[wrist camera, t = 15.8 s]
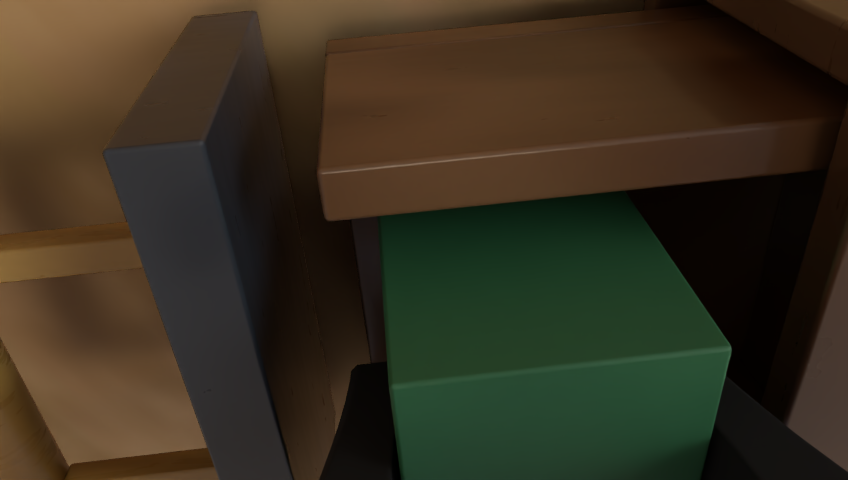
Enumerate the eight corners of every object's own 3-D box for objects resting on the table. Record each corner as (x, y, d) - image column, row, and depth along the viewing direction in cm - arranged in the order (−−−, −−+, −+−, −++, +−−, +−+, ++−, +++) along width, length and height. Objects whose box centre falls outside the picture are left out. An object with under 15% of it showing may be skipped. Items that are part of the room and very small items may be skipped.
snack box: (406, 454, 14) (424, 654, 11) (376, 207, 11) (388, 387, 8) (595, 432, 15) (668, 623, 11) (620, 182, 11) (735, 347, 8)
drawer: (95, 439, 18) (8, 665, 14) (-98, 41, 13) (-368, 196, 8) (740, 364, 19) (870, 555, 14) (844, -45, 13) (1119, 49, 9)
